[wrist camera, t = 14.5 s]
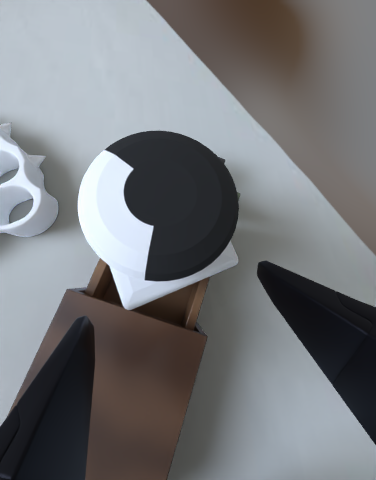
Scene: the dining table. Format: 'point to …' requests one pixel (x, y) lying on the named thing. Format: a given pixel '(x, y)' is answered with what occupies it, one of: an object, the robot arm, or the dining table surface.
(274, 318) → the dining table surface
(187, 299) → the drawer
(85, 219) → the medicine bottle
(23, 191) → the white brass knuckles
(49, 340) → the cabinet
